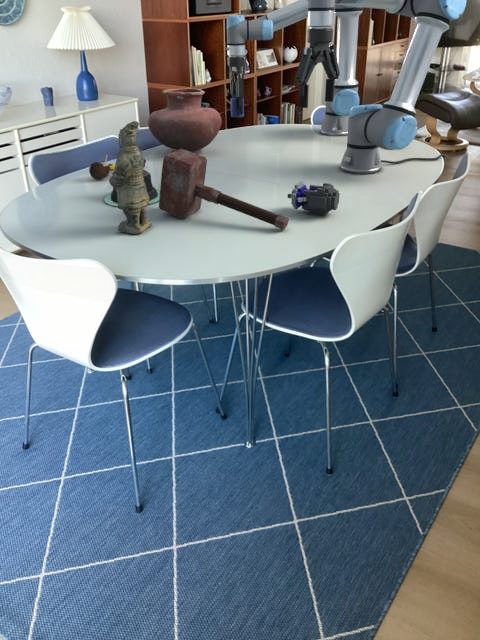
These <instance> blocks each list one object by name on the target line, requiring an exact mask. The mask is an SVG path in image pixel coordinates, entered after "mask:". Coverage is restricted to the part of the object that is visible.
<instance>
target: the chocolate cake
mask: <svg viewBox="0 0 480 640" xmlns="http://www.w3.org/2000/svg"><path fill="white" fill-rule="evenodd" d="M113 175H114V171H112V173H111V176H113ZM143 178H144V182H145V184H146V188H147V192H148V195H149V197H150V204H154V203H157V202H159V198H160V188H156V187H154V185H153V182H152V174H151V172H149V171H148V170H146V169H144V168H143ZM103 200H104V202H105V203H106V204H108V205H109V206H115V207H118V202H117V192H116V189H115V188H114V187H112V191H111V193H108V194H107V195H106V196H104V198H103ZM150 204H149V205H150Z"/></svg>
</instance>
